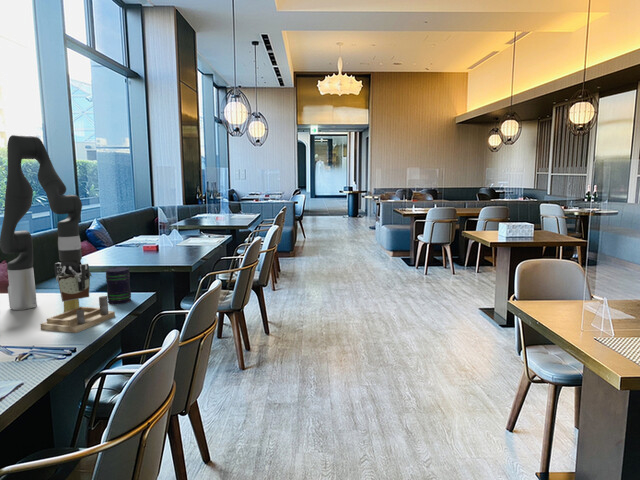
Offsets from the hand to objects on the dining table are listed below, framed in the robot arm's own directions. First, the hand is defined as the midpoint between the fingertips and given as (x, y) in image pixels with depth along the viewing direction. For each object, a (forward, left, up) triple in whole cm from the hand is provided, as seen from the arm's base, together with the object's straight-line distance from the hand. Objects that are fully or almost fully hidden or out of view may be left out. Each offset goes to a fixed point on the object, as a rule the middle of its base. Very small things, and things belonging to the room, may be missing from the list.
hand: (73, 290), depth 173 cm
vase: (-12, +11, -13) cm, 21 cm away
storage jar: (-3, +29, -13) cm, 32 cm away
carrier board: (+2, 0, -13) cm, 13 cm away
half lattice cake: (-1, 0, -3) cm, 3 cm away
